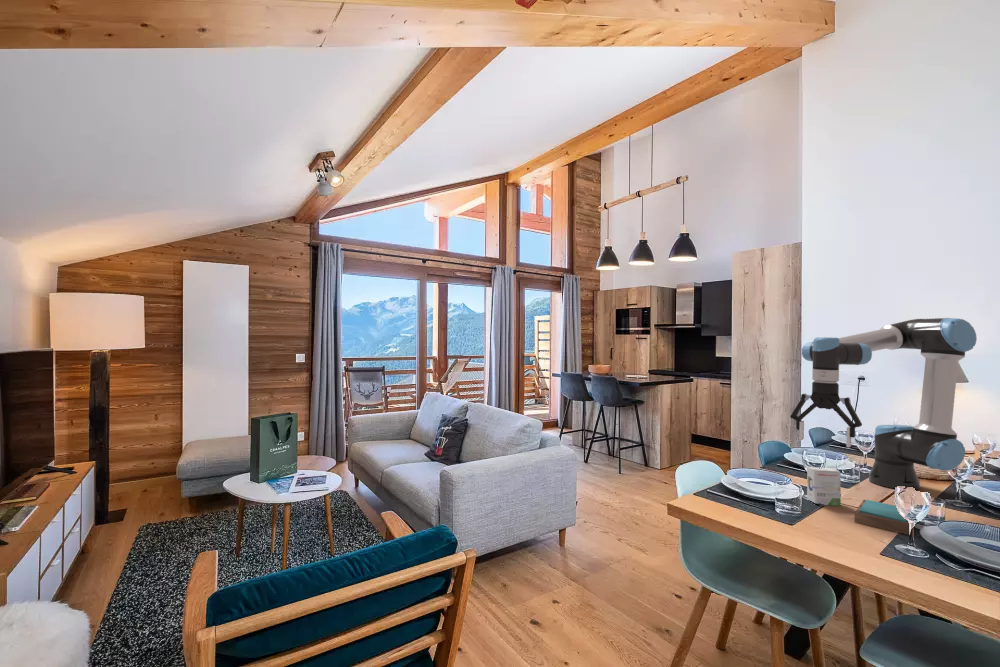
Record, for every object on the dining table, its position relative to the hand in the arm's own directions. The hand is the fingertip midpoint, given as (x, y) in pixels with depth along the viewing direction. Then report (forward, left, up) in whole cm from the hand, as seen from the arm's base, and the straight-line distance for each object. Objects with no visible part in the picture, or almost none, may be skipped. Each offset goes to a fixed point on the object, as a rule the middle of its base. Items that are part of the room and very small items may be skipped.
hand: (824, 443), depth 160 cm
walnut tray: (+4, +17, -21) cm, 27 cm away
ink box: (0, 0, -21) cm, 21 cm away
